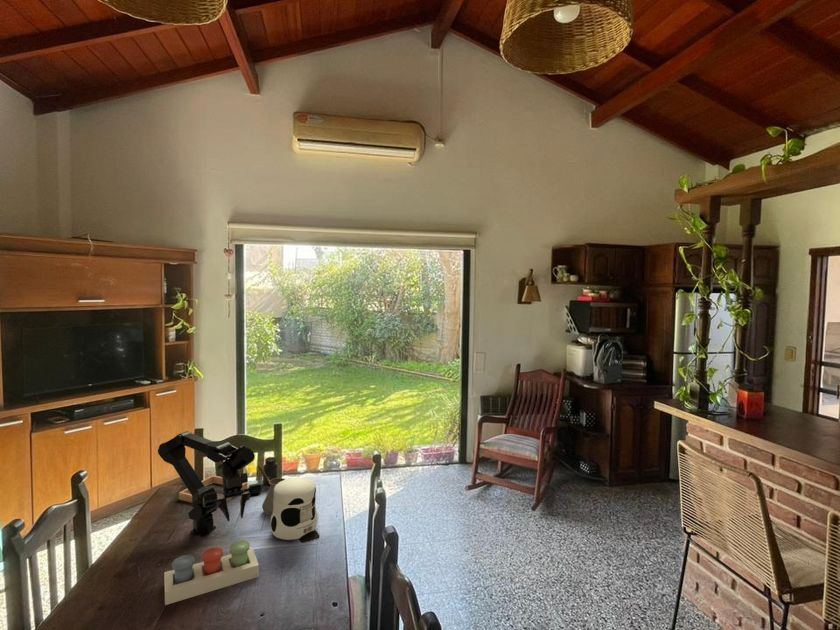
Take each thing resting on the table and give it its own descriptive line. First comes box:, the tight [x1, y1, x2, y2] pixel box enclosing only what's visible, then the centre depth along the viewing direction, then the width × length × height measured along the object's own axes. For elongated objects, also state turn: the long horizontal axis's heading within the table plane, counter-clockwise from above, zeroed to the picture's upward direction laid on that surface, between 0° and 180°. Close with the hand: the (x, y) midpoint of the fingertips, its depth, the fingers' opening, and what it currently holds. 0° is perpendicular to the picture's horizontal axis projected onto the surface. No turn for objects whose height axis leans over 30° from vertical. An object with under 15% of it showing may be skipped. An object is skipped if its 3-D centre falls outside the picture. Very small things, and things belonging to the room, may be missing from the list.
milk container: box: [270, 477, 319, 542], centre depth 164 cm, size 17×17×18 cm
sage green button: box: [229, 540, 251, 568], centre depth 140 cm, size 6×6×6 cm
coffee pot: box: [255, 465, 286, 517], centre depth 182 cm, size 21×12×15 cm, turn 49°
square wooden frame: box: [178, 474, 248, 504], centre depth 192 cm, size 20×19×3 cm
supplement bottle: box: [262, 456, 279, 487], centre depth 204 cm, size 7×7×12 cm
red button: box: [201, 547, 224, 576], centre depth 136 cm, size 6×6×6 cm
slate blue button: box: [171, 554, 196, 584], centre depth 132 cm, size 6×6×6 cm
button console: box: [163, 548, 260, 606], centre depth 136 cm, size 10×26×4 cm, turn 121°
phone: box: [298, 529, 320, 544], centre depth 166 cm, size 7×1×15 cm
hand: (235, 519), depth 147 cm, fingers open, 4 cm apart
